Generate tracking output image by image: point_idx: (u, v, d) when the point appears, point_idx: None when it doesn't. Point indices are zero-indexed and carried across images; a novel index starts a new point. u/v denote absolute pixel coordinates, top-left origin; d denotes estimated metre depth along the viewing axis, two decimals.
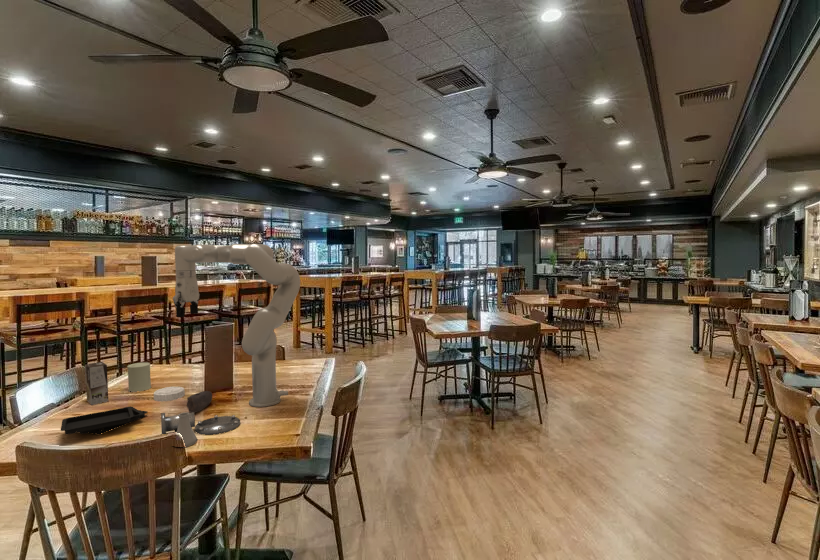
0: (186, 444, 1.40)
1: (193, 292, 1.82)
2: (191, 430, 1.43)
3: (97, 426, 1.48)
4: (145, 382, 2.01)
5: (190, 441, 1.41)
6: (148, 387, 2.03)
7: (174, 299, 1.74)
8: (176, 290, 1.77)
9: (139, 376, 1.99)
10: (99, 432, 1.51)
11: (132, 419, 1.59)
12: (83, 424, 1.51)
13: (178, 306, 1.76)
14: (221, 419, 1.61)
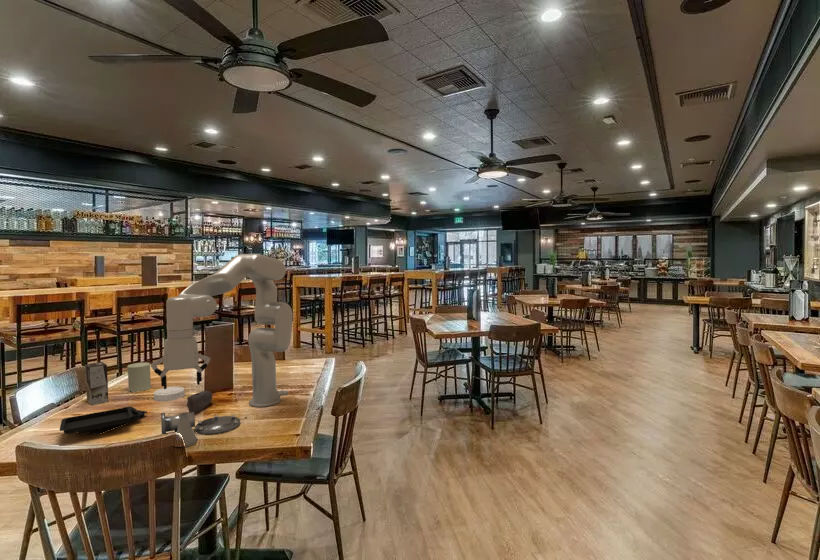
0: (186, 444, 1.40)
1: None
2: (191, 430, 1.43)
3: (96, 426, 1.48)
4: (145, 382, 2.01)
5: (190, 441, 1.41)
6: (148, 387, 2.03)
7: (209, 360, 1.46)
8: (197, 352, 1.43)
9: (139, 376, 1.99)
10: (98, 432, 1.51)
11: (131, 419, 1.59)
12: (82, 424, 1.51)
13: None
14: (221, 419, 1.61)
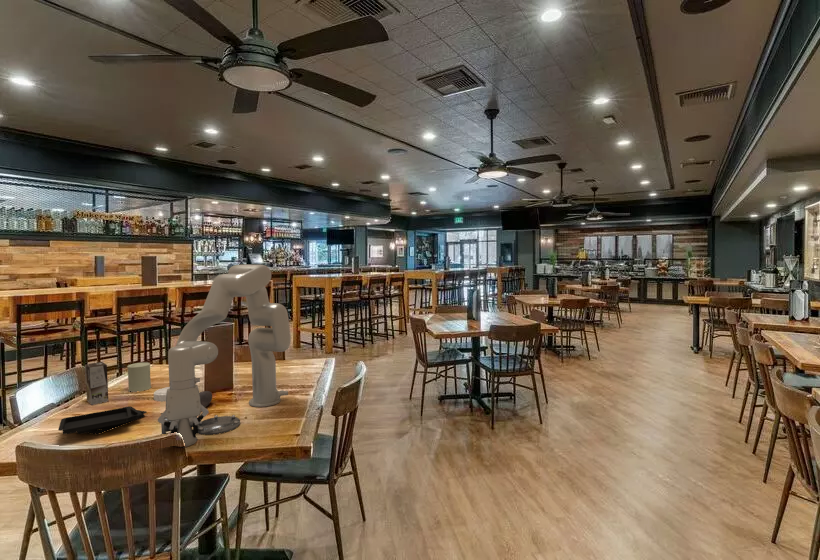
0: (186, 444, 1.40)
1: None
2: (191, 430, 1.43)
3: (95, 426, 1.48)
4: (145, 382, 2.01)
5: (190, 441, 1.41)
6: (148, 387, 2.03)
7: None
8: (199, 400, 1.43)
9: (139, 376, 1.99)
10: (97, 432, 1.51)
11: (130, 419, 1.59)
12: (81, 424, 1.52)
13: None
14: (221, 419, 1.61)
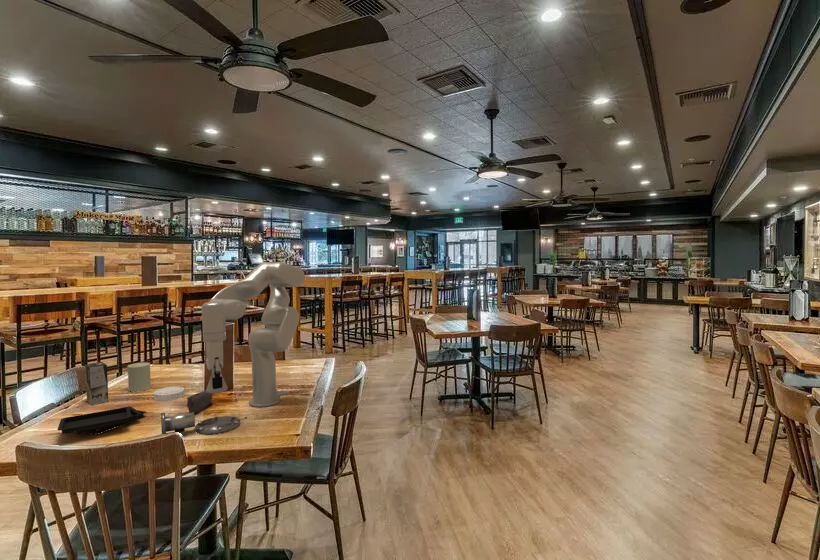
0: None
1: None
2: None
3: (94, 426, 1.48)
4: (145, 382, 2.01)
5: None
6: (148, 387, 2.03)
7: None
8: None
9: (139, 376, 1.99)
10: (96, 432, 1.51)
11: (130, 419, 1.59)
12: (81, 424, 1.52)
13: None
14: (221, 419, 1.61)
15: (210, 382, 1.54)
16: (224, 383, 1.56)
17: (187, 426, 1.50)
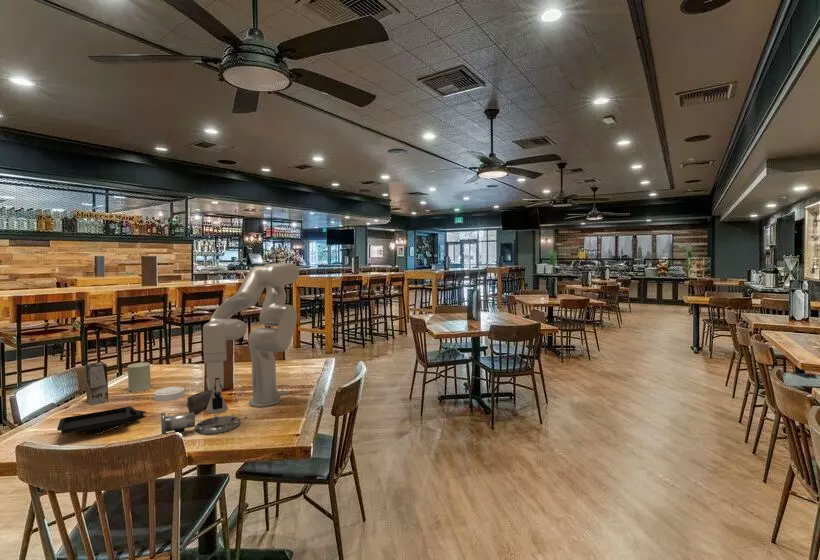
0: None
1: (207, 378, 1.54)
2: None
3: (93, 426, 1.48)
4: (145, 382, 2.01)
5: None
6: (148, 387, 2.03)
7: None
8: None
9: (139, 376, 1.99)
10: (96, 432, 1.51)
11: (129, 419, 1.59)
12: (80, 424, 1.52)
13: None
14: (221, 419, 1.61)
15: (210, 402, 1.54)
16: (224, 403, 1.56)
17: (187, 426, 1.50)
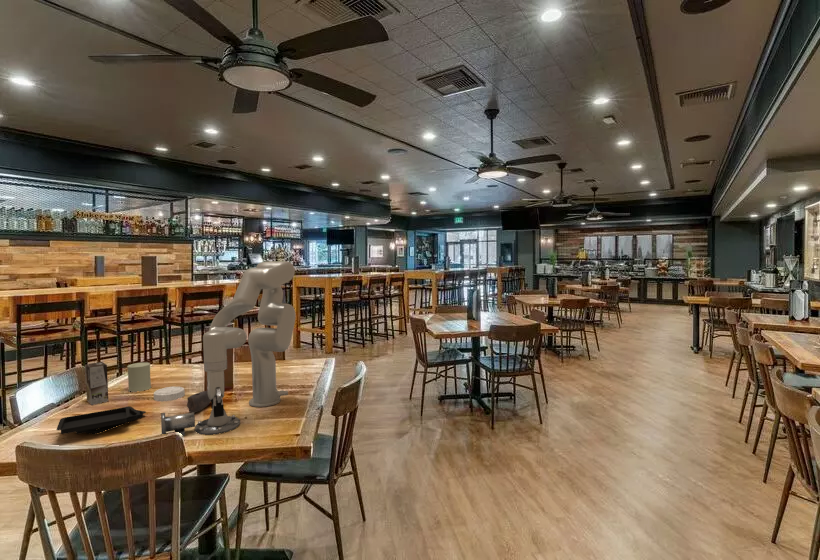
0: None
1: None
2: None
3: (93, 426, 1.48)
4: (145, 382, 2.01)
5: None
6: (148, 387, 2.03)
7: None
8: None
9: (139, 376, 1.99)
10: (95, 432, 1.51)
11: (129, 419, 1.59)
12: (80, 424, 1.52)
13: None
14: None
15: (211, 415, 1.55)
16: (225, 416, 1.57)
17: (187, 426, 1.50)
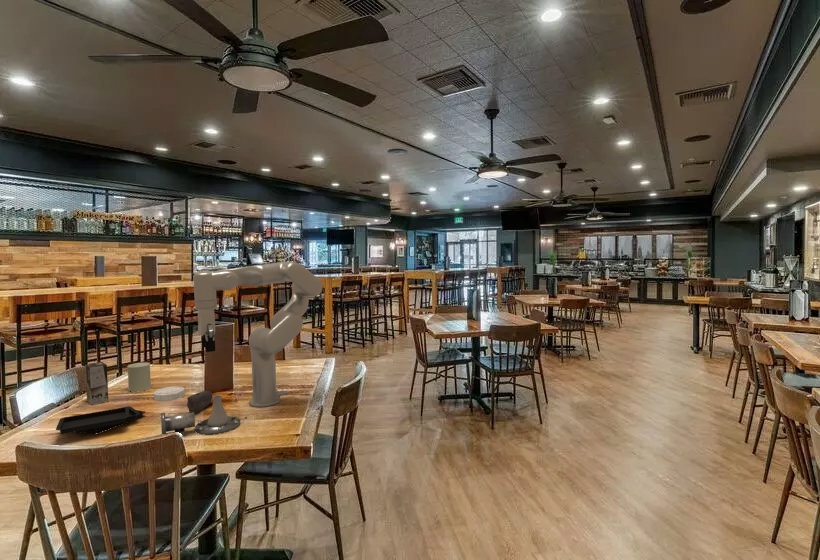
0: None
1: (199, 325, 1.63)
2: None
3: (92, 426, 1.48)
4: (145, 382, 2.01)
5: None
6: (148, 387, 2.03)
7: None
8: None
9: (139, 376, 1.99)
10: (95, 432, 1.51)
11: (128, 419, 1.59)
12: (80, 423, 1.52)
13: None
14: None
15: (211, 415, 1.55)
16: (225, 416, 1.57)
17: (187, 426, 1.50)
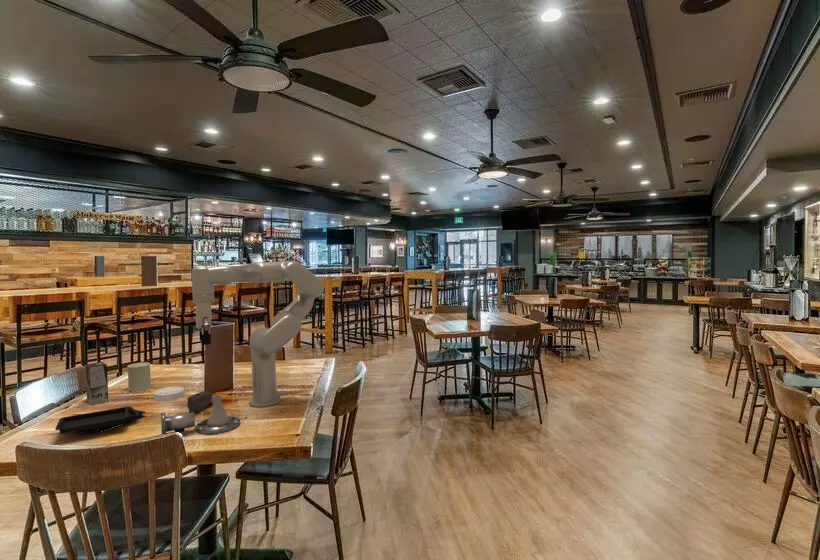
0: None
1: (196, 318, 1.66)
2: None
3: (91, 426, 1.48)
4: (145, 382, 2.01)
5: None
6: (148, 387, 2.03)
7: None
8: None
9: (139, 376, 1.99)
10: (94, 432, 1.51)
11: (128, 419, 1.59)
12: (79, 423, 1.52)
13: None
14: None
15: (211, 415, 1.55)
16: (225, 416, 1.57)
17: (187, 426, 1.50)
